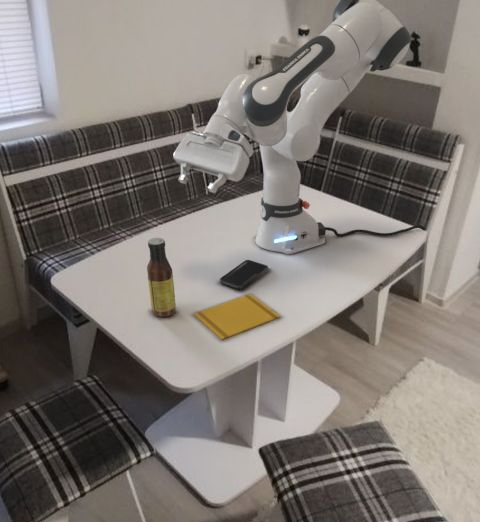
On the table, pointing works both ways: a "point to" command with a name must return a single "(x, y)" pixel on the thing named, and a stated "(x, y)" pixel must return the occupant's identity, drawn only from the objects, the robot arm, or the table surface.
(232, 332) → the tray
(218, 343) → the table surface
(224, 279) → the phone
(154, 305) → the sauce bottle
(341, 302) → the table surface
